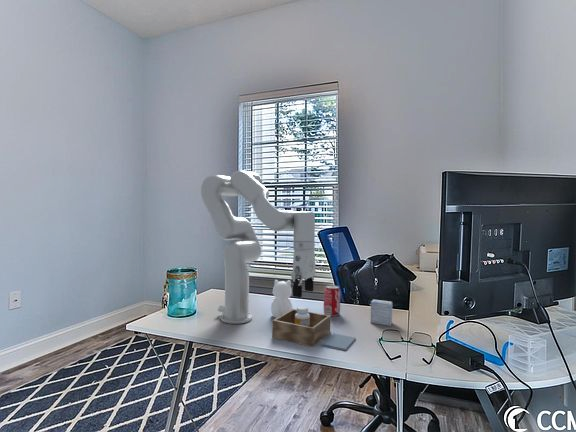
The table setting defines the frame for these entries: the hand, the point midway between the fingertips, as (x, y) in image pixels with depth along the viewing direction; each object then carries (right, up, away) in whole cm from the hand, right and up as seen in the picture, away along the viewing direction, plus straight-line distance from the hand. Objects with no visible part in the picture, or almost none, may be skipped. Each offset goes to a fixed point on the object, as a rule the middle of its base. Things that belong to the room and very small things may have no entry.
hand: (303, 293), depth 120 cm
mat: (+12, -15, -6) cm, 20 cm away
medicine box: (+32, -15, +14) cm, 38 cm away
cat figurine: (-8, -14, +20) cm, 26 cm away
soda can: (+13, -15, +24) cm, 31 cm away
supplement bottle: (0, -15, 0) cm, 15 cm away
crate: (0, -15, 0) cm, 15 cm away
